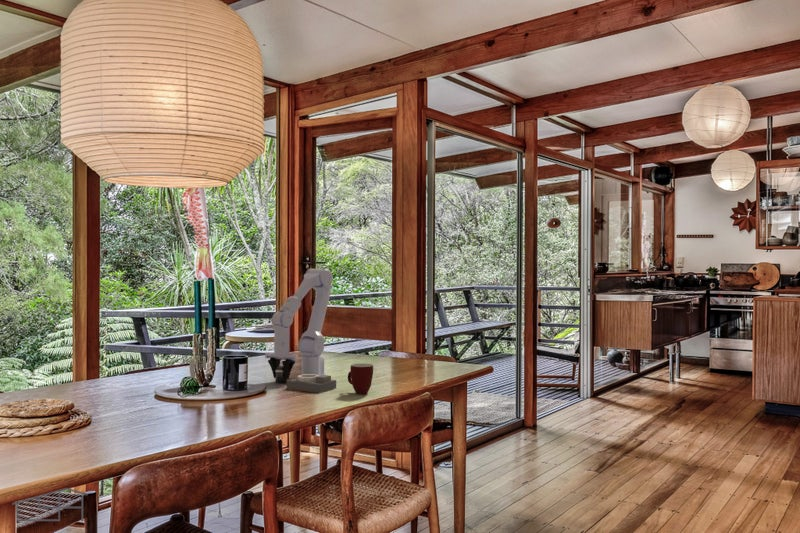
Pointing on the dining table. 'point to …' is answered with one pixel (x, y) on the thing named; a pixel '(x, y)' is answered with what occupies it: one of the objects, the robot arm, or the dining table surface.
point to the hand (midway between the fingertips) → (281, 378)
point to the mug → (361, 377)
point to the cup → (193, 366)
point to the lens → (280, 375)
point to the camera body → (312, 383)
